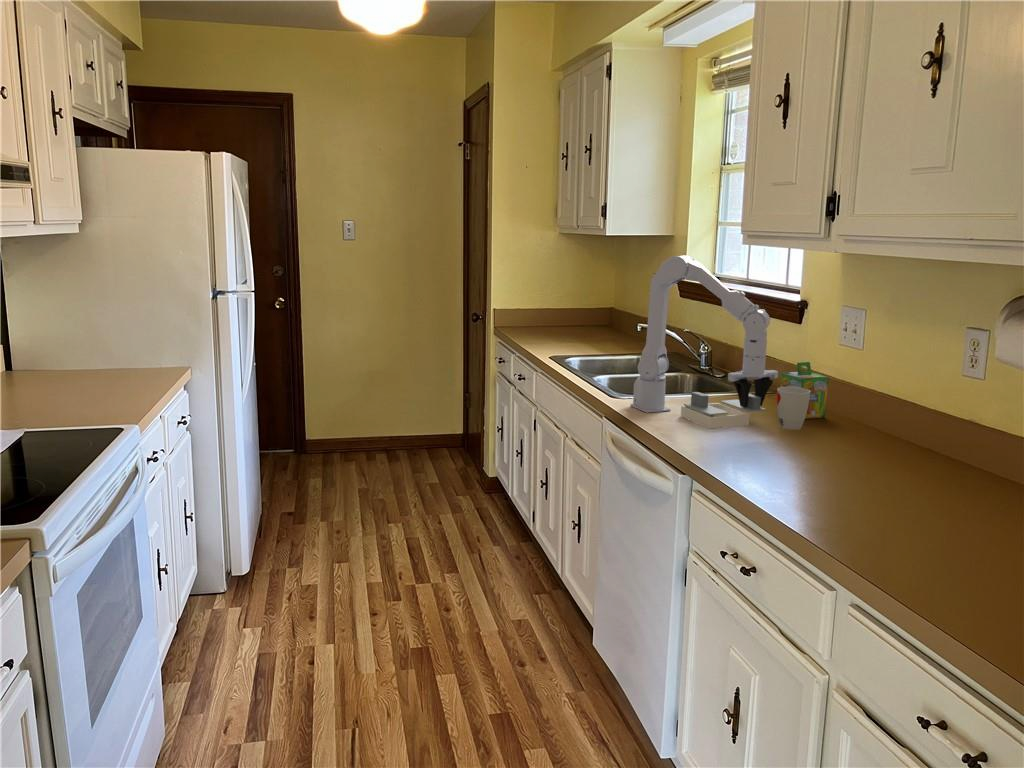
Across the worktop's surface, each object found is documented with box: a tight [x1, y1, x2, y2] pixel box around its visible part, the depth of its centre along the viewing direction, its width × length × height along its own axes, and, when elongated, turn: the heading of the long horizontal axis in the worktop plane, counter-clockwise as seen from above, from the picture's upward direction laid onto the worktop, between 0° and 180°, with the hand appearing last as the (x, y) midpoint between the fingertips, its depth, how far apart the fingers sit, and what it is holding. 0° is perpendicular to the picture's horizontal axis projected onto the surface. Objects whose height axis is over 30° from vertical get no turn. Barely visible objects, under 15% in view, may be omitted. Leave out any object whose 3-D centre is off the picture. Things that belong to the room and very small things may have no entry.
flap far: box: [720, 393, 767, 413], centre depth 218 cm, size 12×6×4 cm, turn 21°
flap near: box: [683, 391, 728, 415], centre depth 214 cm, size 12×6×4 cm, turn 21°
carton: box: [680, 402, 751, 429], centre depth 216 cm, size 14×12×3 cm
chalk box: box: [780, 361, 830, 420], centre depth 222 cm, size 9×9×15 cm
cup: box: [776, 386, 810, 431], centre depth 209 cm, size 8×8×10 cm
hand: (751, 405), depth 215 cm, fingers open, 4 cm apart
